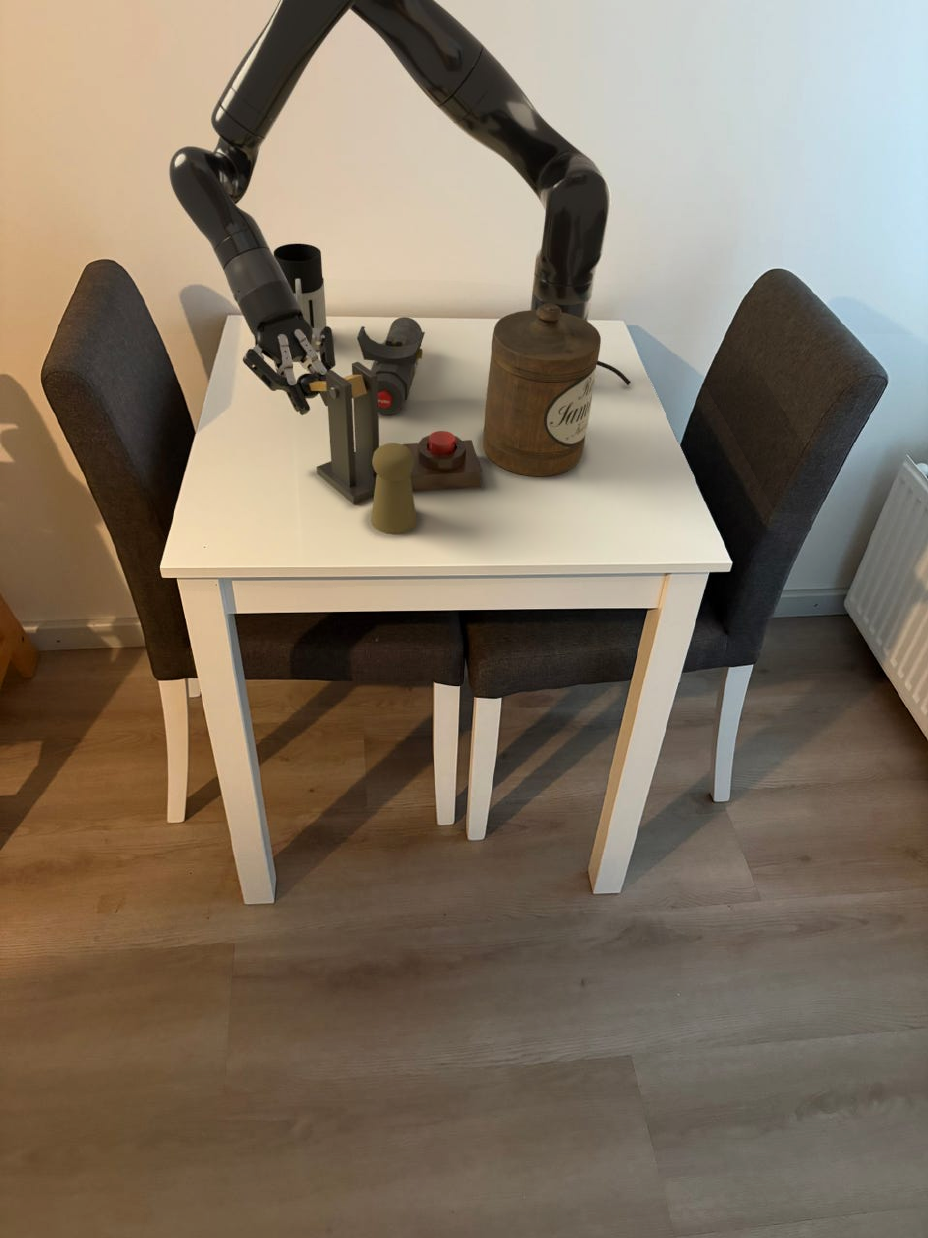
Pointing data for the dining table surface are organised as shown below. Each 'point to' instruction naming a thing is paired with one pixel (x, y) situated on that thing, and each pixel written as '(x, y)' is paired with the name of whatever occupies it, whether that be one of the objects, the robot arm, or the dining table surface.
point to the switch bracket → (352, 435)
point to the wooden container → (540, 390)
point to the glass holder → (305, 281)
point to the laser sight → (394, 361)
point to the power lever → (314, 386)
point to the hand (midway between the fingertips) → (318, 407)
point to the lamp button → (442, 443)
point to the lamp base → (444, 467)
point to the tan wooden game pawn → (393, 489)
